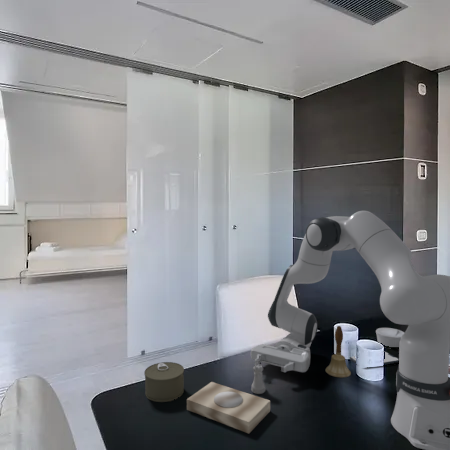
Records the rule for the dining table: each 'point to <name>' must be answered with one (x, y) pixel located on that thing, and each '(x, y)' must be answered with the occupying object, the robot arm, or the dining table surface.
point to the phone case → (387, 360)
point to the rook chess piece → (258, 380)
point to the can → (164, 381)
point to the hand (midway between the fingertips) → (269, 366)
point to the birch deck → (229, 406)
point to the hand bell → (338, 358)
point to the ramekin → (389, 336)
